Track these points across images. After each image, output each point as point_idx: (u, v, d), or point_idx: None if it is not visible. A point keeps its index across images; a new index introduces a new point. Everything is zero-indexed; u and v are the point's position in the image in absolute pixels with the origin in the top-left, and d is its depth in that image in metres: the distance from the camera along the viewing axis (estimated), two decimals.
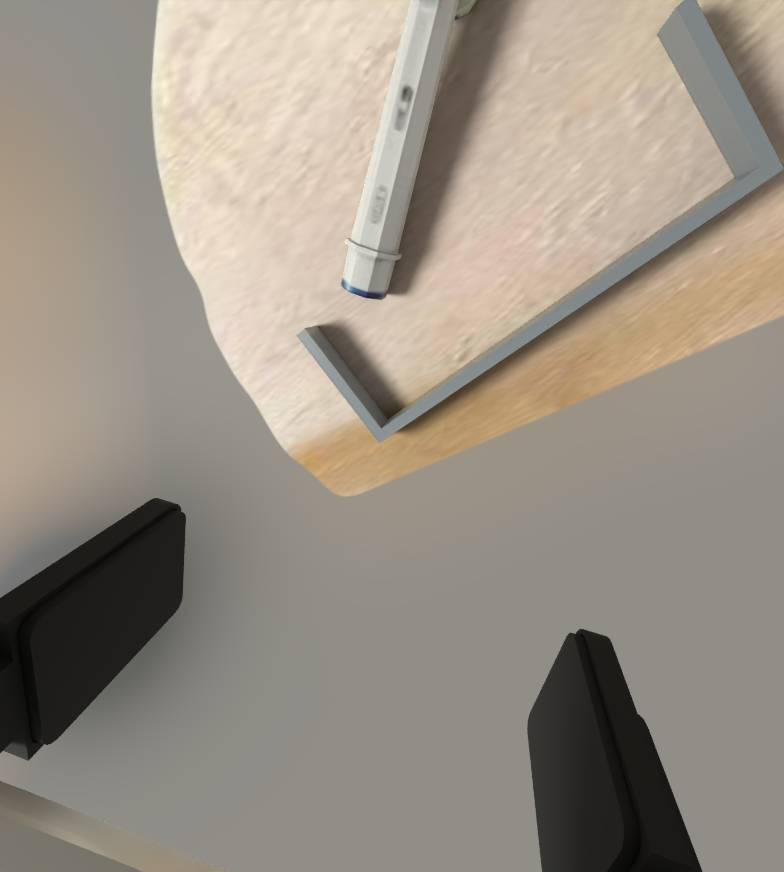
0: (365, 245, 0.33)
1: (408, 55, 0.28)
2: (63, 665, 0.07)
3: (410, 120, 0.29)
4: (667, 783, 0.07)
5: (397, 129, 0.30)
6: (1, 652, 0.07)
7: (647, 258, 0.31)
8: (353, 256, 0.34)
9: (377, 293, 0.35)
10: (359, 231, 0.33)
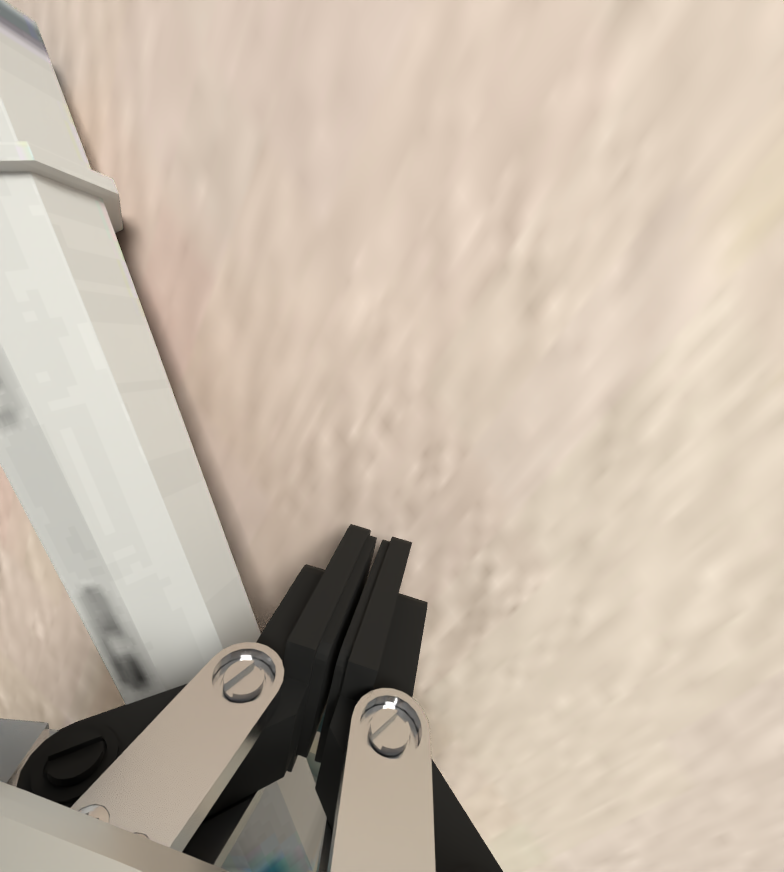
0: None
1: None
2: (325, 685, 0.08)
3: (83, 622, 0.09)
4: (419, 641, 0.09)
5: (92, 589, 0.09)
6: (298, 675, 0.07)
7: None
8: None
9: None
10: None
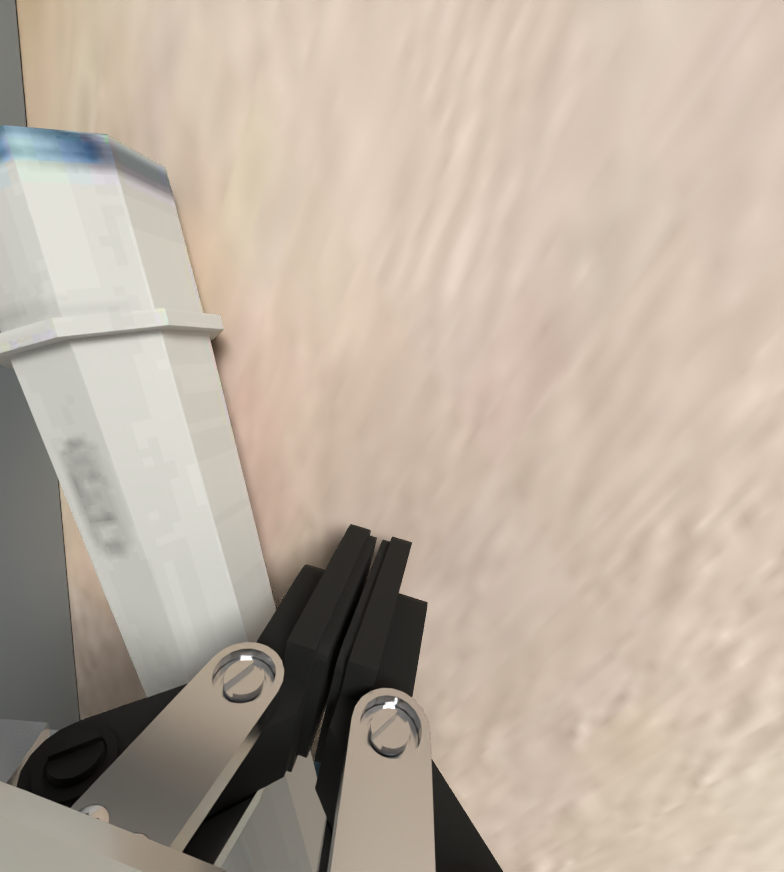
0: (50, 352, 0.08)
1: (239, 835, 0.10)
2: (325, 685, 0.08)
3: None
4: (419, 641, 0.09)
5: None
6: (298, 676, 0.07)
7: None
8: (84, 283, 0.08)
9: None
10: (113, 383, 0.08)
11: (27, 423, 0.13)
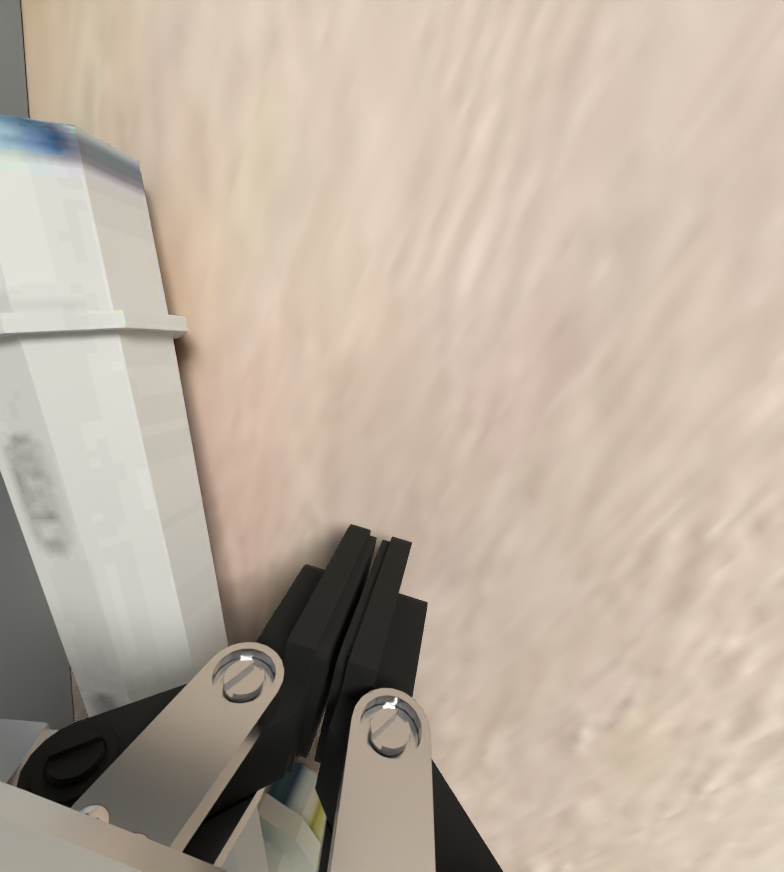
0: None
1: None
2: (325, 685, 0.08)
3: None
4: (419, 641, 0.09)
5: (105, 697, 0.10)
6: (299, 676, 0.07)
7: None
8: (38, 278, 0.08)
9: None
10: (63, 382, 0.08)
11: None
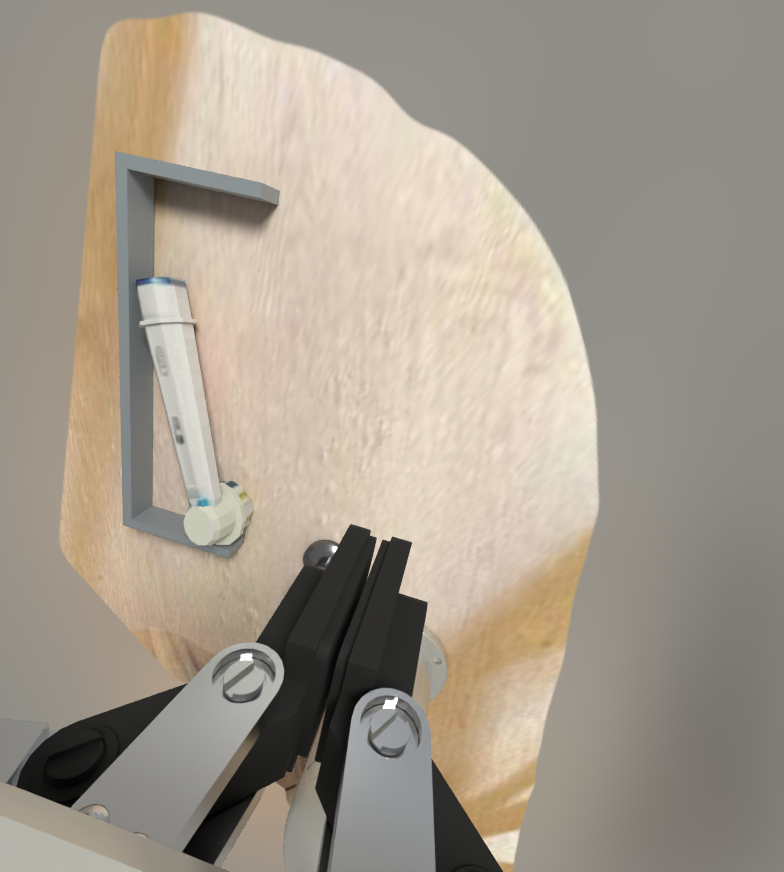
0: (155, 325, 0.36)
1: (190, 460, 0.38)
2: (325, 685, 0.08)
3: (170, 425, 0.38)
4: (419, 641, 0.09)
5: (175, 417, 0.38)
6: (298, 676, 0.07)
7: (123, 449, 0.42)
8: (164, 310, 0.36)
9: (136, 288, 0.36)
10: (169, 333, 0.36)
11: (147, 352, 0.40)
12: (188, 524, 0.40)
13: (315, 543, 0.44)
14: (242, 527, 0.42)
